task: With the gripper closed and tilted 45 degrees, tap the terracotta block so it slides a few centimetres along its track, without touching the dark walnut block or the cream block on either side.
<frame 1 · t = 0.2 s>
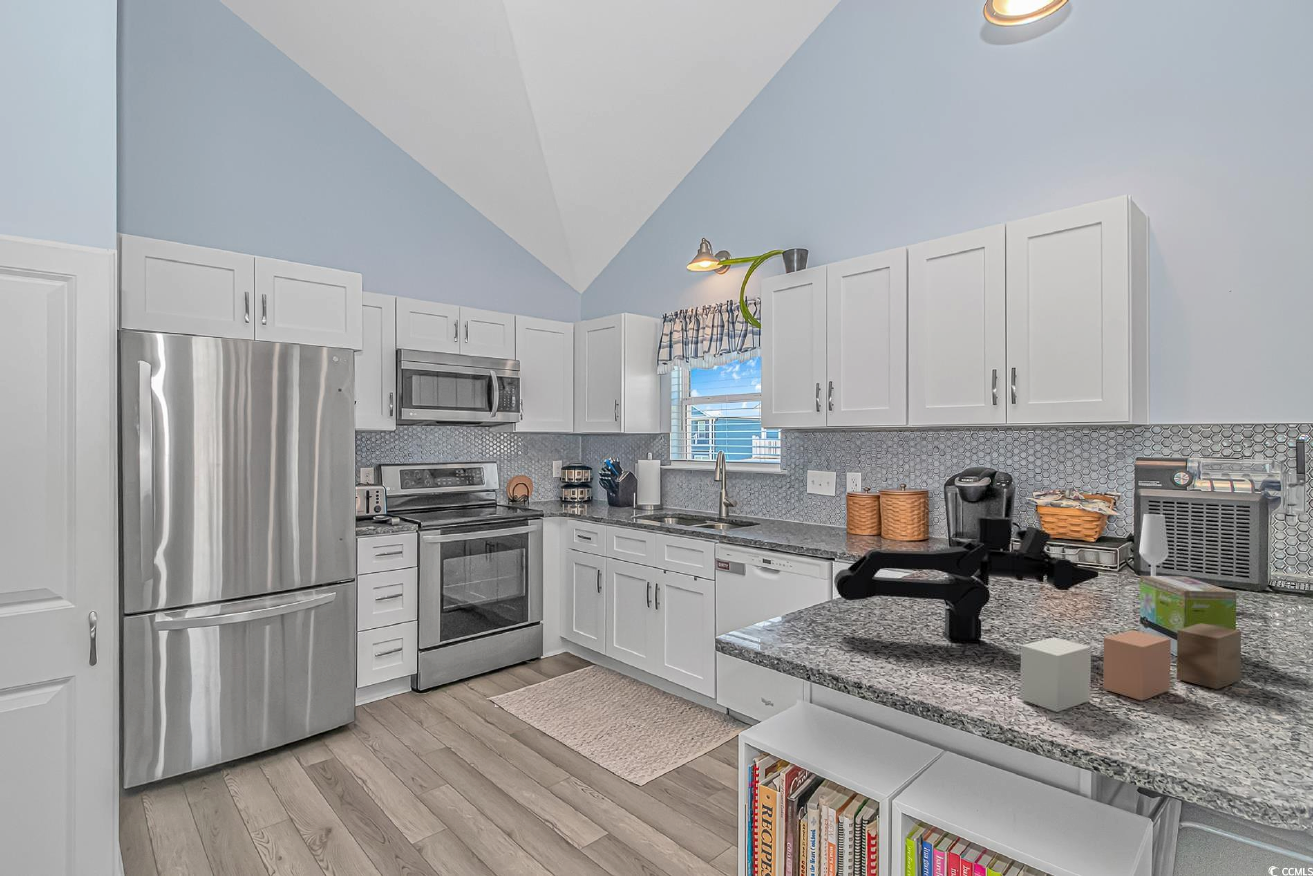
hand: (1087, 569, 141), 17 cm above the countertop, tool horizontal, fingers open, 9 cm apart
walnut block: (1208, 654, 121), point 5 cm above the countertop, slide at 0.0 cm
terracotta block: (1136, 663, 115), point 5 cm above the countertop, slide at 0.0 cm
tea box: (1185, 652, 139), on the countertop
cream block: (1055, 673, 110), point 5 cm above the countertop, slide at 0.0 cm
champagne flute: (1153, 599, 187), on the countertop
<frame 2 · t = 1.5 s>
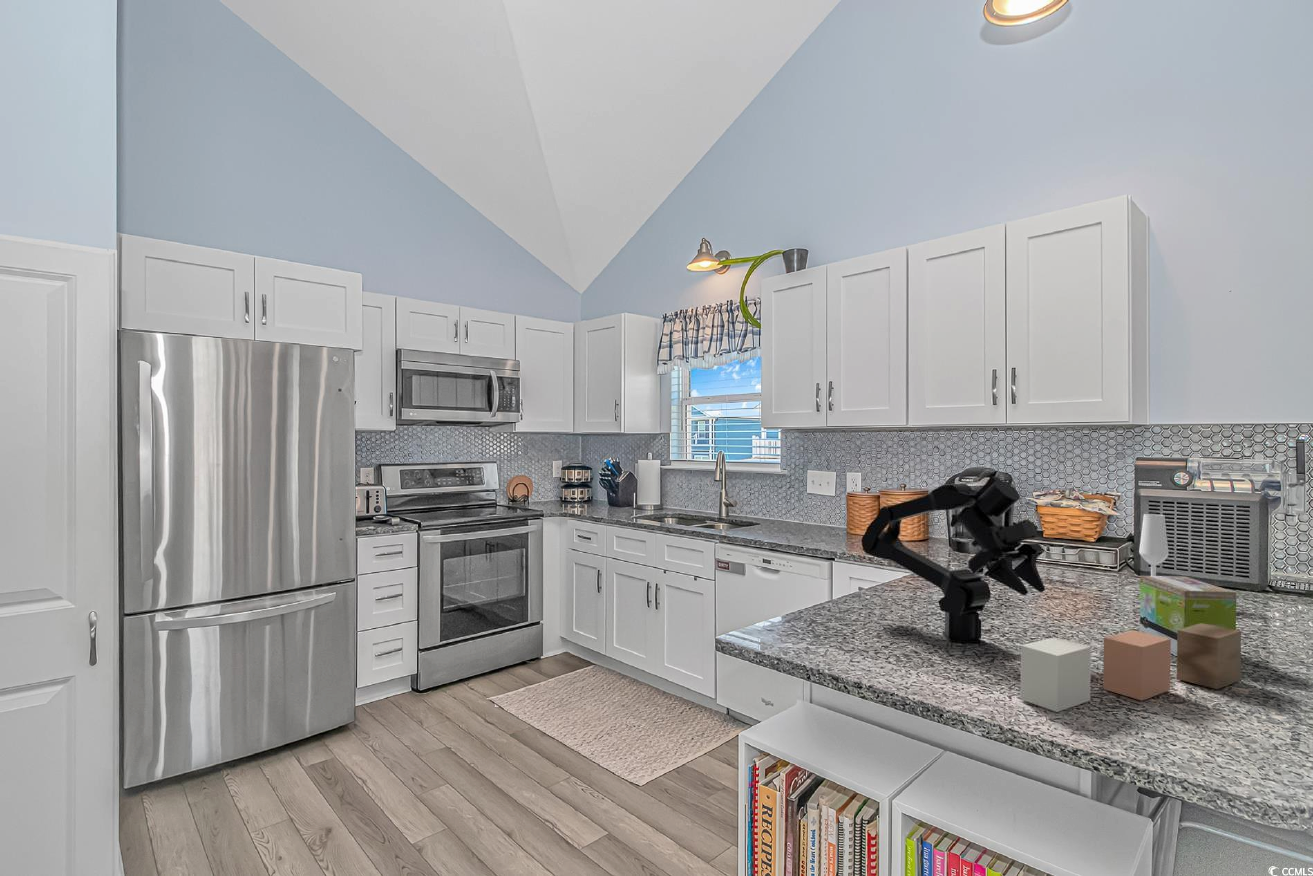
hand: (1034, 592, 131), 14 cm above the countertop, tool tilted 45°, fingers open, 6 cm apart
nothing on the countertop moved.
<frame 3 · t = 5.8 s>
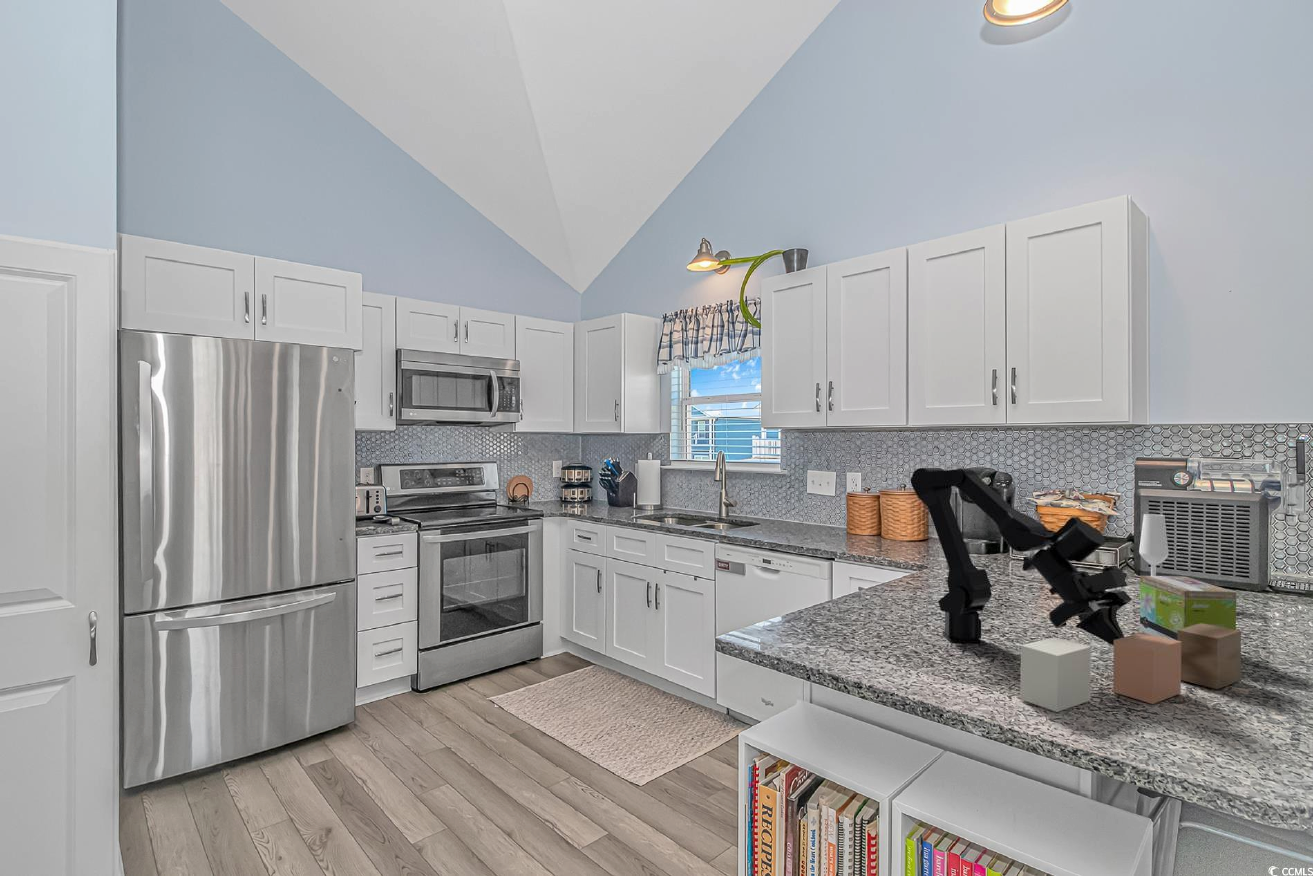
hand: (1126, 649, 117), 7 cm above the countertop, tool tilted 45°, fingers closed, pressing on terracotta block
terracotta block: (1147, 666, 114), point 5 cm above the countertop, slide at 1.6 cm, touching gripper
everything else where it was.
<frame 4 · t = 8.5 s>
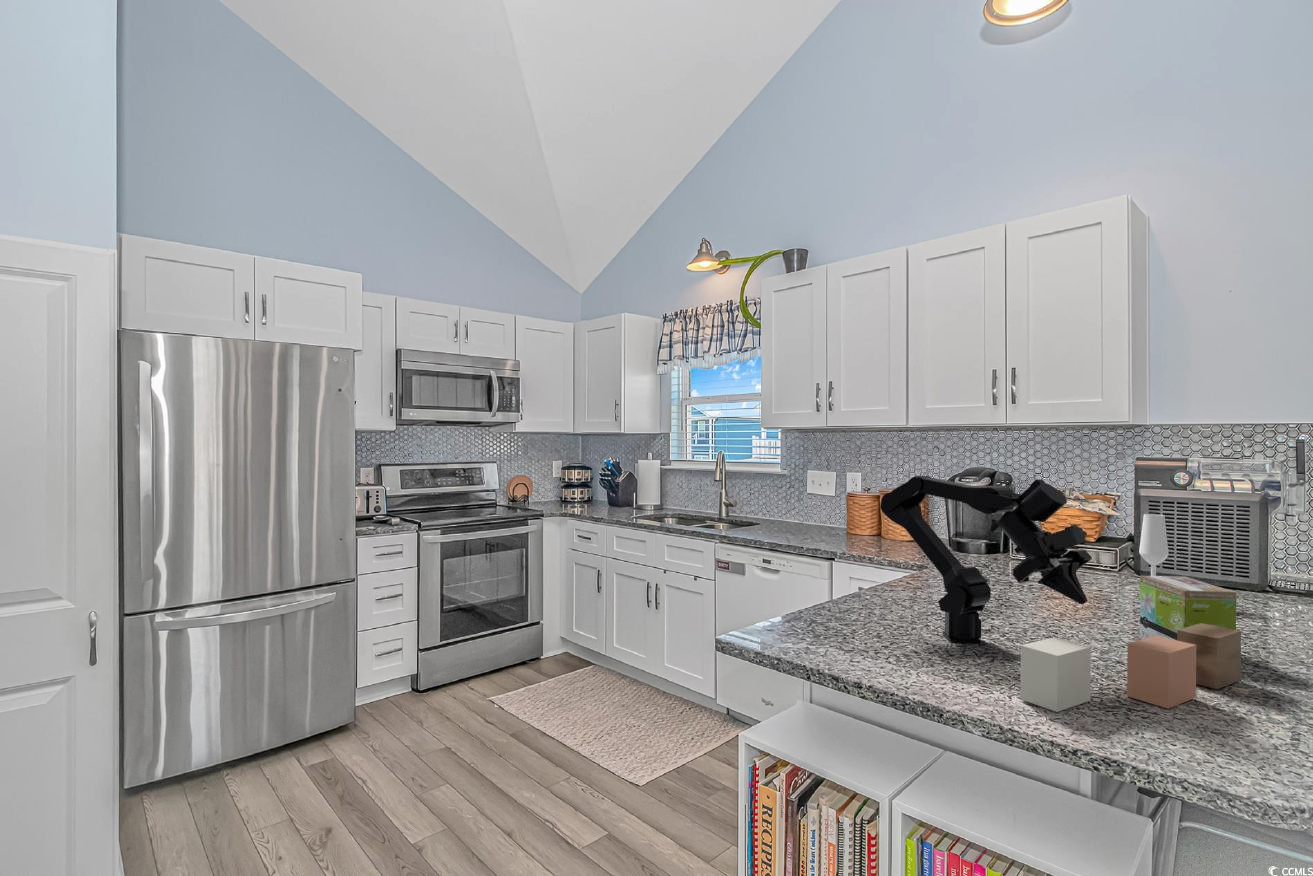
hand: (1084, 602, 123), 14 cm above the countertop, tool tilted 45°, fingers closed
terracotta block: (1161, 670, 112), point 5 cm above the countertop, slide at 3.7 cm
everything else where it was.
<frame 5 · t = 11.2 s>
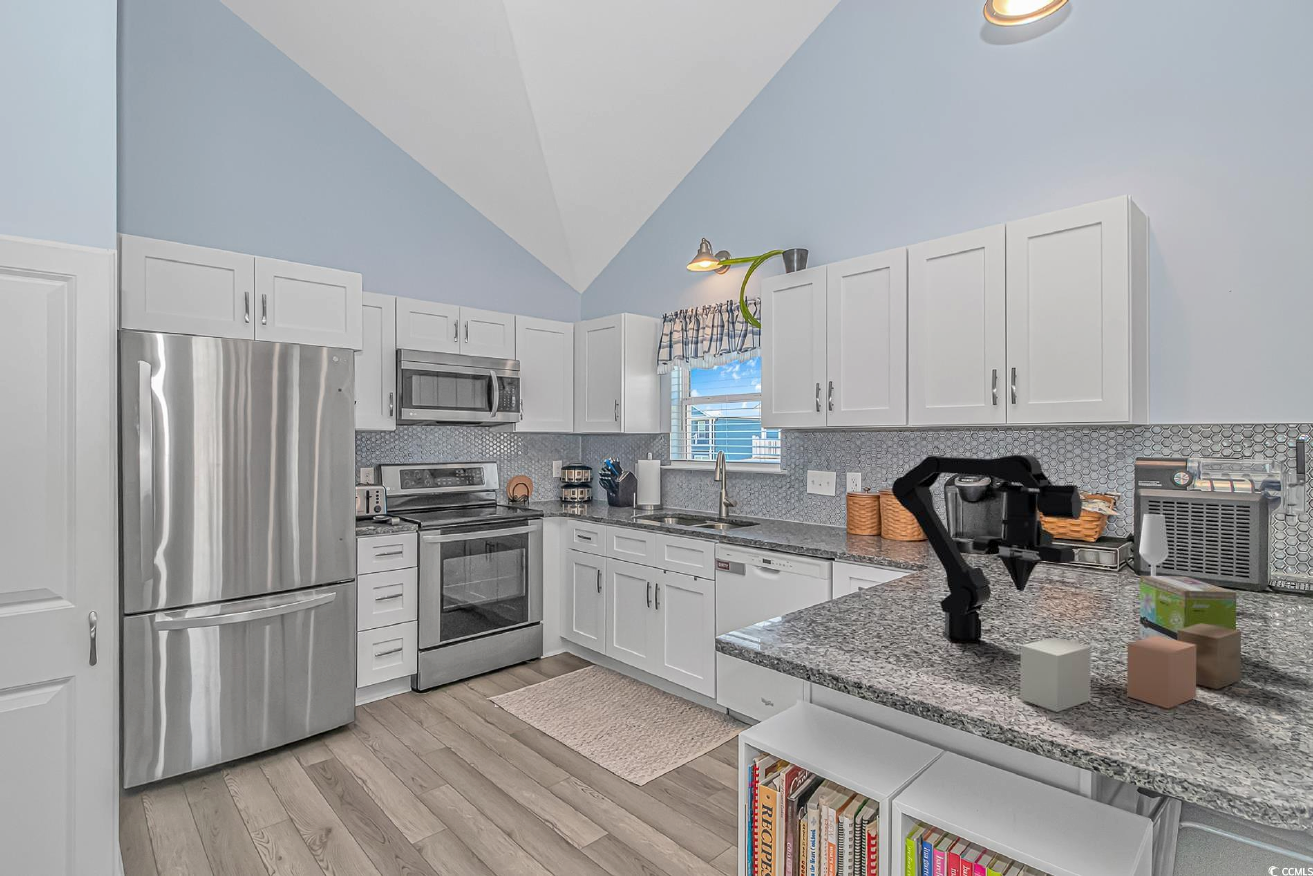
hand: (1020, 590, 136), 13 cm above the countertop, tool pointing down, fingers closed
nothing on the countertop moved.
at the end: terracotta block slide at 3.7 cm; walnut block slide at 0.0 cm; cream block slide at 0.0 cm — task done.
